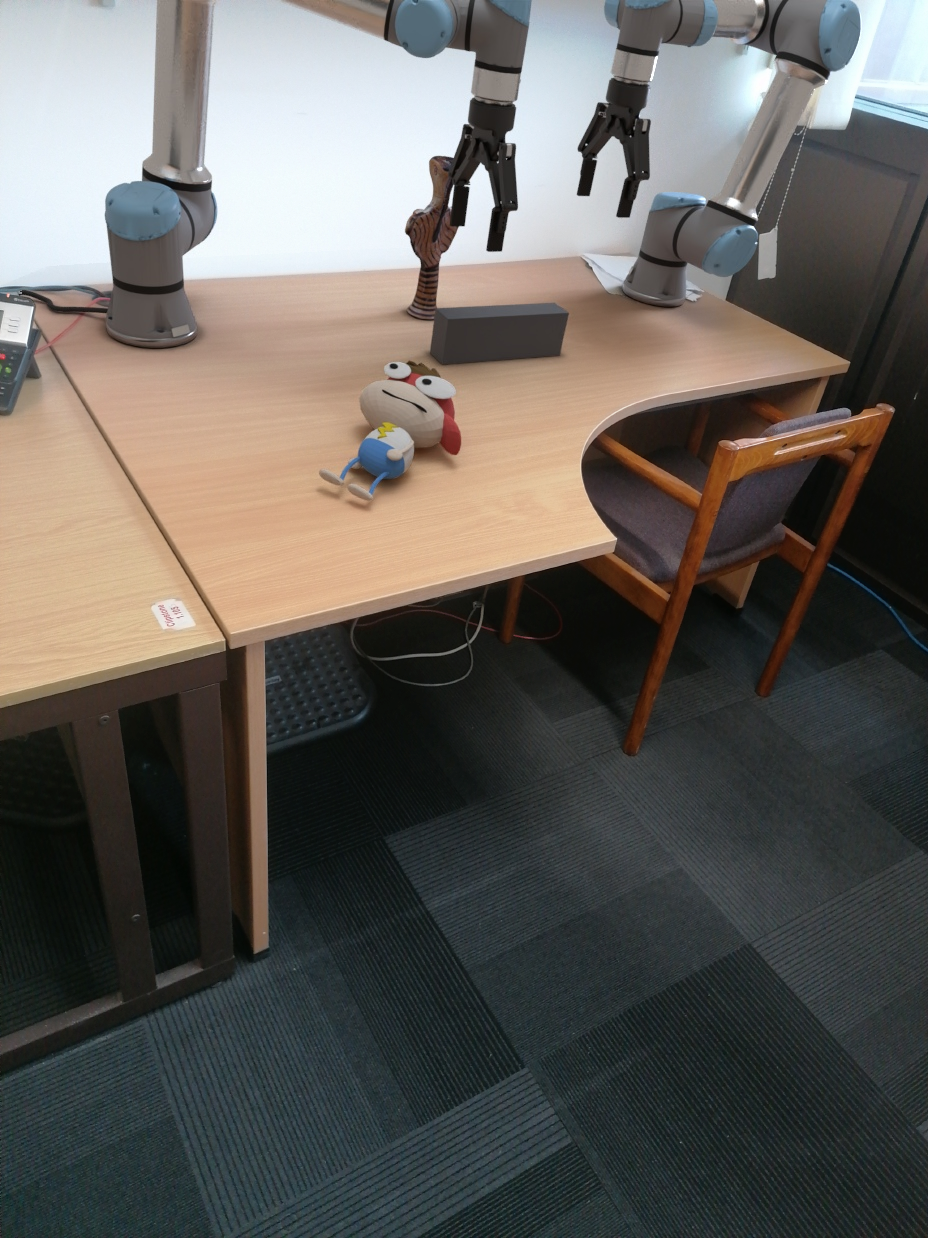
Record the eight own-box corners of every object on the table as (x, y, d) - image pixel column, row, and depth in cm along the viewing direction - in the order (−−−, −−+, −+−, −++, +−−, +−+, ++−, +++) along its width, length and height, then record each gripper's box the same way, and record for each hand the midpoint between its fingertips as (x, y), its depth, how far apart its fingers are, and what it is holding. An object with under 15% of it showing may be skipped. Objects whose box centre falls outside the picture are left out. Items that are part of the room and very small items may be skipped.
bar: (442, 364, 165) (448, 318, 160) (429, 353, 168) (435, 307, 163) (559, 355, 177) (569, 312, 171) (546, 344, 180) (554, 302, 175)
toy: (281, 425, 122) (398, 341, 141) (280, 482, 129) (391, 396, 148) (394, 483, 117) (499, 388, 137) (386, 539, 125) (486, 442, 144)
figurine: (432, 300, 190) (450, 146, 171) (461, 312, 187) (483, 156, 168) (388, 314, 180) (402, 152, 161) (417, 327, 177) (436, 163, 158)
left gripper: (554, 119, 135) (529, 261, 148) (477, 84, 151) (460, 215, 165) (513, 116, 132) (491, 262, 145) (438, 81, 148) (424, 215, 161)
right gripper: (690, 96, 152) (656, 226, 165) (607, 67, 168) (582, 187, 181) (656, 94, 149) (624, 226, 162) (575, 64, 165) (552, 186, 178)
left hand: (475, 238), depth 155 cm, fingers open, 13 cm apart
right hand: (602, 206), depth 172 cm, fingers open, 13 cm apart
